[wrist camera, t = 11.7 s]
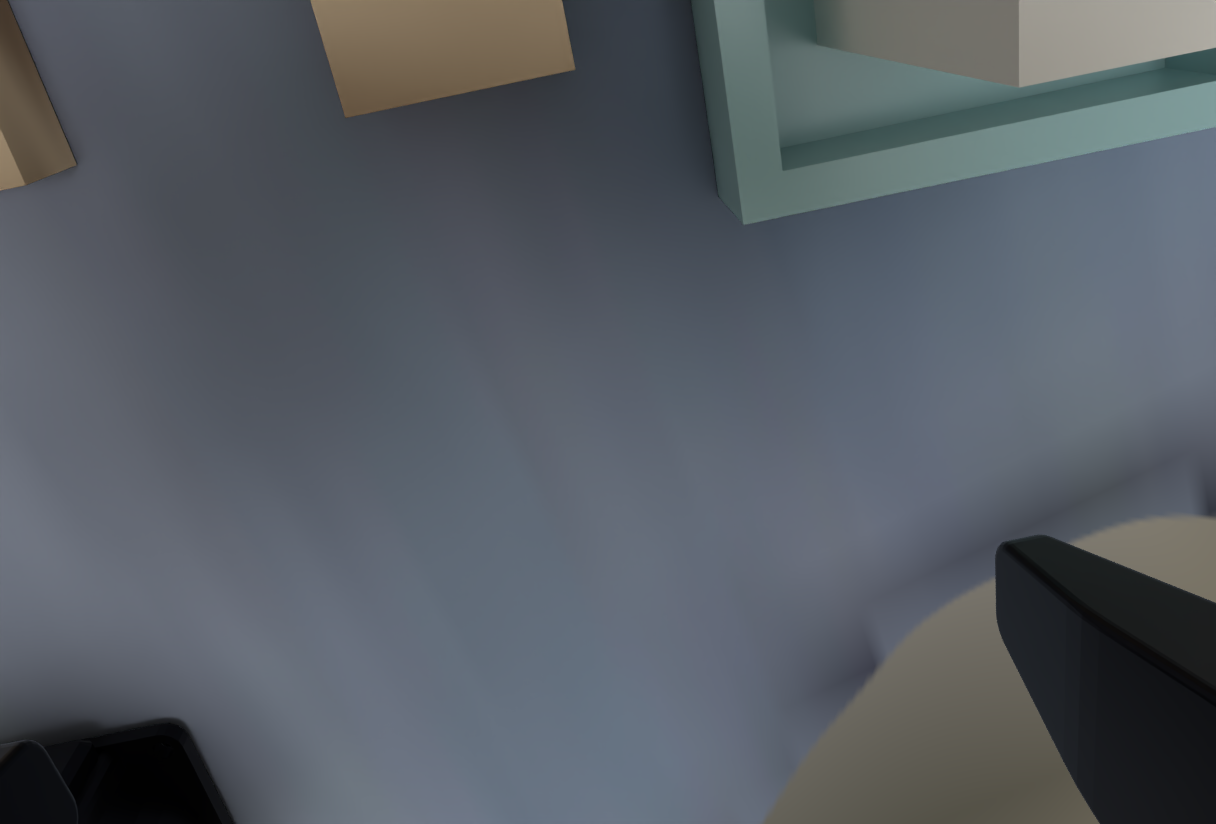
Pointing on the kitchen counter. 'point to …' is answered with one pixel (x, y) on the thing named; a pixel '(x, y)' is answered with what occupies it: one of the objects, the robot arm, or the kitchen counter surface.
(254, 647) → the kitchen counter surface
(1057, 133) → the tray
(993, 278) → the kitchen counter surface
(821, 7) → the white handled drawer
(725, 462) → the kitchen counter surface
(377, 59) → the bay
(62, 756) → the robot arm
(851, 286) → the kitchen counter surface
